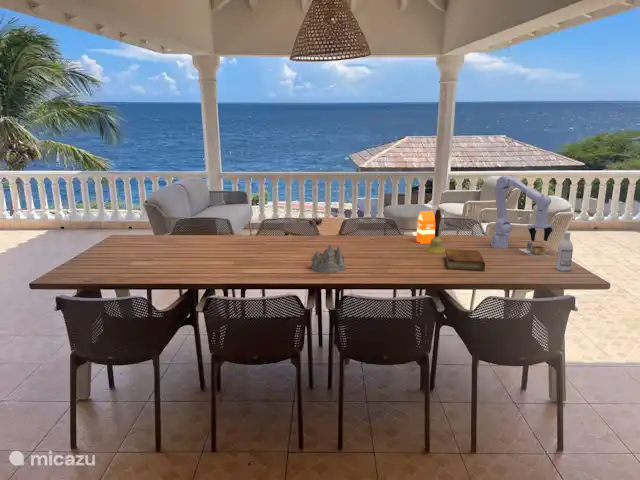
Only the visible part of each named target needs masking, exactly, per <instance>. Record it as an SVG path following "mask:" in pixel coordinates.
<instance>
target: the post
mask: <svg viewBox="0 0 640 480" xmlns="http://www.w3.org/2000/svg"><path fill="white" fill-rule="evenodd" d="M531 246H533V241H527V246H526V249H527V250H528V251H531Z"/></svg>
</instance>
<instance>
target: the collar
mask: <svg viewBox="0 0 640 480" xmlns="http://www.w3.org/2000/svg"><path fill="white" fill-rule="evenodd" d="M531 254H533V255H535V256H537V255H545V254H546V248H545V247H543V246H541V245H537V246H536V245H532V246H531Z"/></svg>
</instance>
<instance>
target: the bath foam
mask: <svg viewBox="0 0 640 480" xmlns="http://www.w3.org/2000/svg"><path fill="white" fill-rule="evenodd" d="M573 250H574V246H573V242H572V241H571V232H570V231H564V233H563V239H561V241H560V242H559V244H558V247H557V256H556V264H555V269H556V270H557V271H562V272H569V271H570V270H571V268H572V259H573V252H574V251H573Z"/></svg>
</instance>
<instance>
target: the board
mask: <svg viewBox="0 0 640 480" xmlns="http://www.w3.org/2000/svg"><path fill="white" fill-rule="evenodd" d="M518 250H519V251H520V252H521V251H522V252H523V253H525V254H527V255H529V256H530V257H549V254H547V253H545V255H537V256H535V255H533V254H531V251H528V250H527V248H518Z"/></svg>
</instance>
